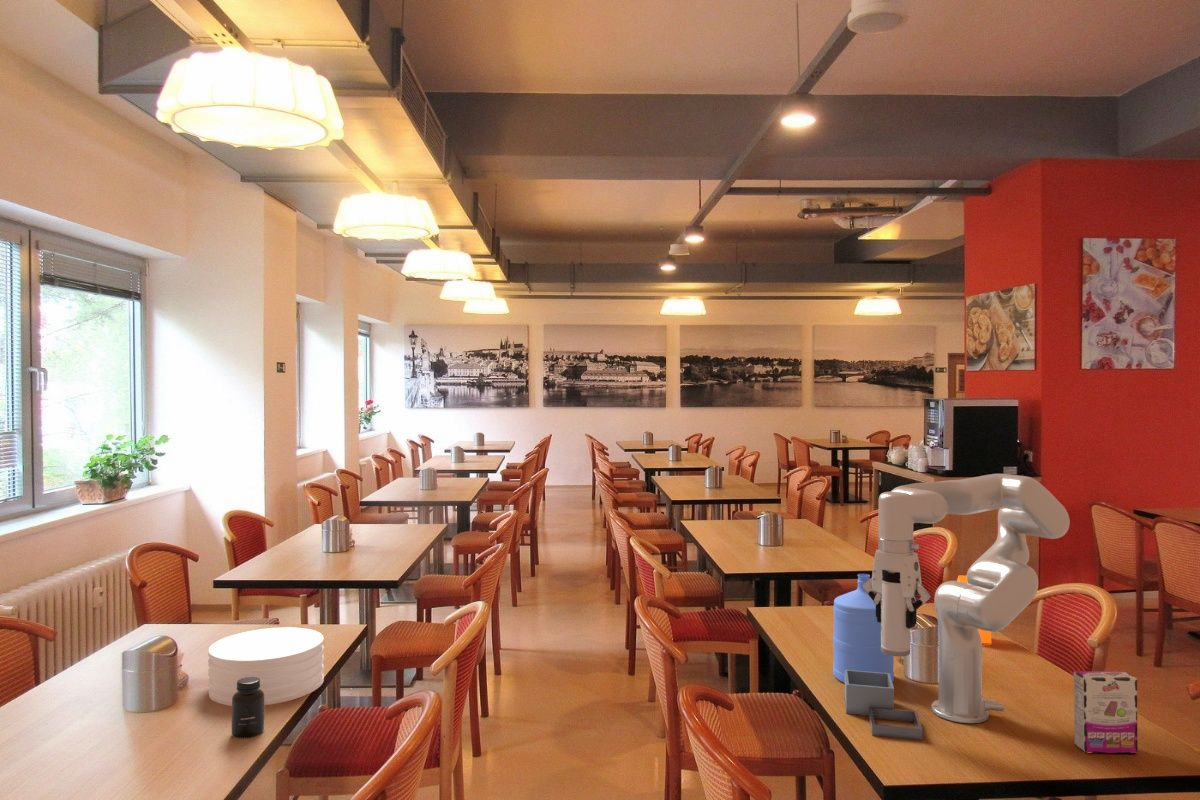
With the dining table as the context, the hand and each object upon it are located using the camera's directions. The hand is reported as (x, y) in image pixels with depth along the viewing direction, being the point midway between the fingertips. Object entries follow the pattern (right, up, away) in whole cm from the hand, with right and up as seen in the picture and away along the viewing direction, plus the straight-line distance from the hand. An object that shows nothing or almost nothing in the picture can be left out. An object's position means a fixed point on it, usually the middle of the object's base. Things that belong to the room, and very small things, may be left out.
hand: (895, 623), depth 187 cm
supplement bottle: (-148, -24, -2) cm, 150 cm away
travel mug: (0, -7, 0) cm, 7 cm away
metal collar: (0, -24, 0) cm, 24 cm away
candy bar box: (+41, -25, -11) cm, 49 cm away
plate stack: (-155, -24, +27) cm, 160 cm away
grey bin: (-2, -24, +13) cm, 27 cm away
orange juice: (+48, -24, +66) cm, 85 cm away
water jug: (+3, -24, +32) cm, 41 cm away
